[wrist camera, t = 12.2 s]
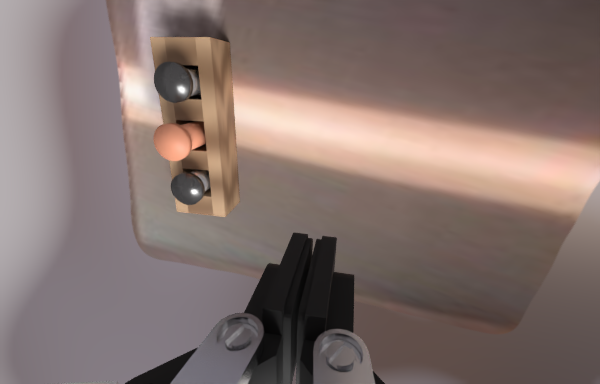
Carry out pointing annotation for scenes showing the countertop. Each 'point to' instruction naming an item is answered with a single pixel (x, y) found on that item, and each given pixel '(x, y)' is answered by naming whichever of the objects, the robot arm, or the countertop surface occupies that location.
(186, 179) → the grey plug far
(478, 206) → the countertop surface
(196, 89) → the grey plug near
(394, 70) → the countertop surface
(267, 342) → the robot arm
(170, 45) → the socket strip
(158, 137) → the rust plug
